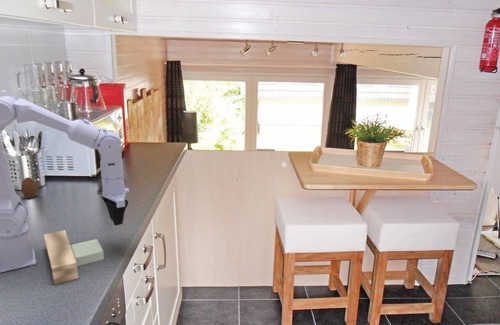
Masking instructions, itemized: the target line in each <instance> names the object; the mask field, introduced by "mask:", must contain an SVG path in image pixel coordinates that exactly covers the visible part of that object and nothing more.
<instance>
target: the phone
mask: <svg viewBox="0 0 500 325" xmlns="http://www.w3.org/2000/svg"><path fill="white" fill-rule="evenodd" d="M126 180H127V179H126V178H124V184H125V183H127V182H126ZM102 192H103V187H102V185H101V186H100V188H99V189H98V190H97V195H102Z"/></svg>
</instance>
